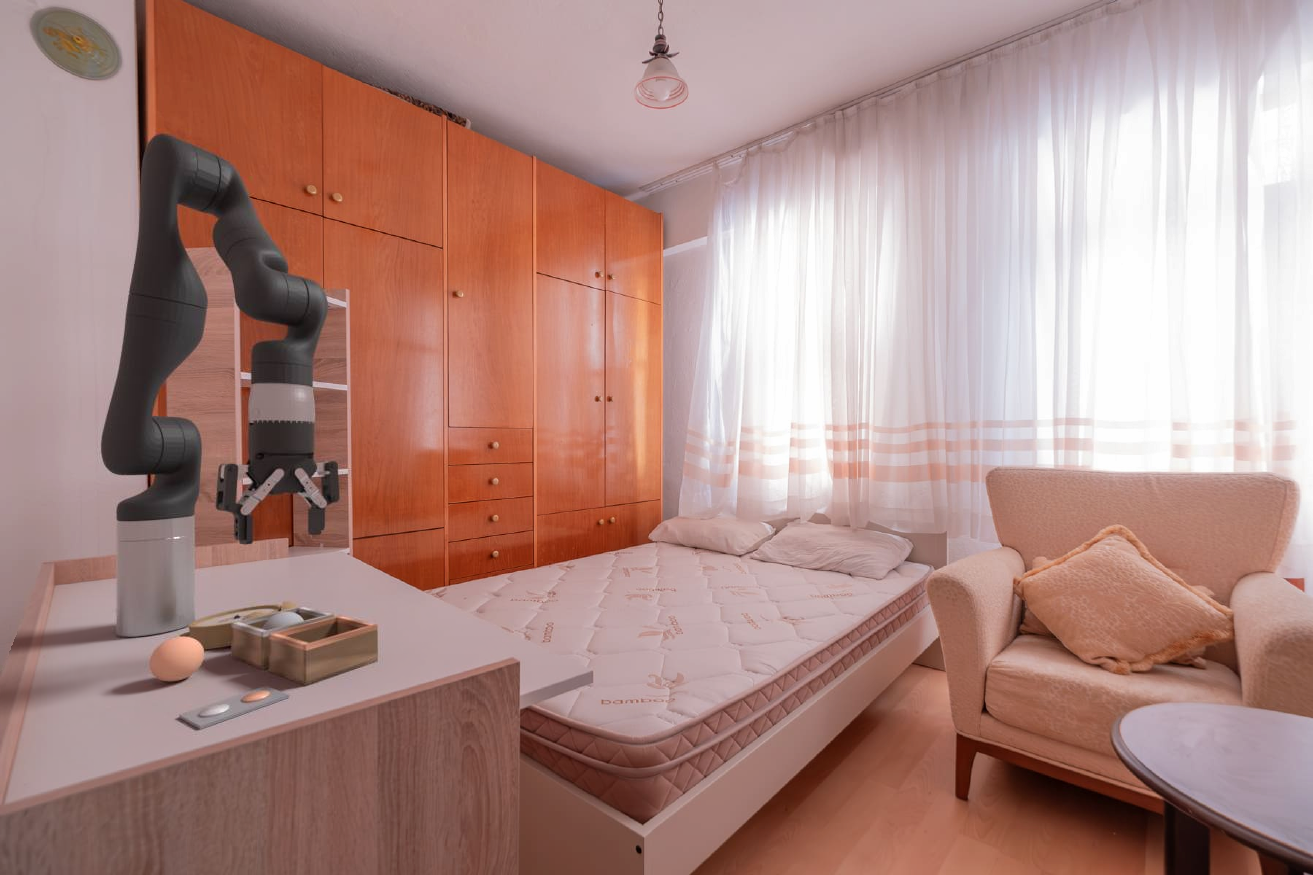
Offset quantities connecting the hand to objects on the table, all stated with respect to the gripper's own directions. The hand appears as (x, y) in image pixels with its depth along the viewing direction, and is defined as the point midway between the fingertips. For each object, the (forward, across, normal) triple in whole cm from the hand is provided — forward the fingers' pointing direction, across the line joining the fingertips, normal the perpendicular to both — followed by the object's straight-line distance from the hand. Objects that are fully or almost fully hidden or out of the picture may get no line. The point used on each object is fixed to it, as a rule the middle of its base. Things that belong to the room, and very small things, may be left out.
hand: (281, 539), depth 76 cm
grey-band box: (+15, 0, 0) cm, 15 cm away
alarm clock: (+16, -1, -12) cm, 20 cm away
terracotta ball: (+13, +11, -1) cm, 17 cm away
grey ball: (+12, 0, 0) cm, 12 cm away
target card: (+15, +11, +14) cm, 23 cm away
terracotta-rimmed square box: (+15, 0, +10) cm, 18 cm away
